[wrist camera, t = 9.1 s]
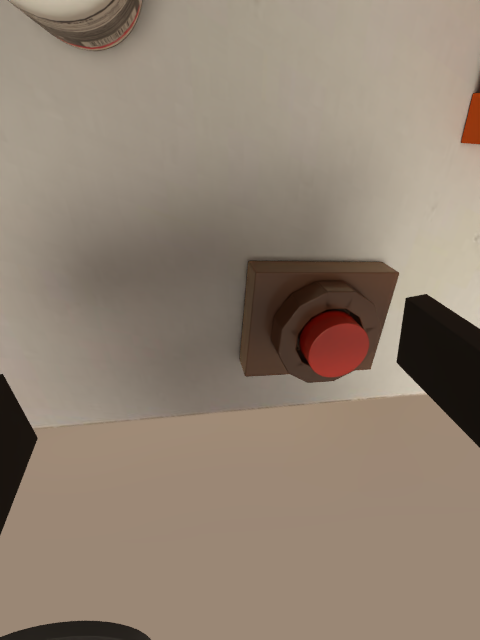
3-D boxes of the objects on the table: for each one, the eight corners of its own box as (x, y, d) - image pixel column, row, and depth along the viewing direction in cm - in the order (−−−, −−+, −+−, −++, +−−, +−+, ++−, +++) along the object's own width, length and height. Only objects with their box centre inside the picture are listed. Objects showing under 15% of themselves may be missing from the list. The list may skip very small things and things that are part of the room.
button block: (357, 353, 30) (383, 384, 26) (239, 359, 28) (250, 393, 24) (382, 261, 26) (416, 283, 23) (248, 260, 24) (262, 283, 21)
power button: (349, 360, 25) (361, 375, 24) (294, 363, 24) (303, 379, 23) (362, 309, 23) (376, 322, 22) (304, 310, 23) (314, 324, 21)
